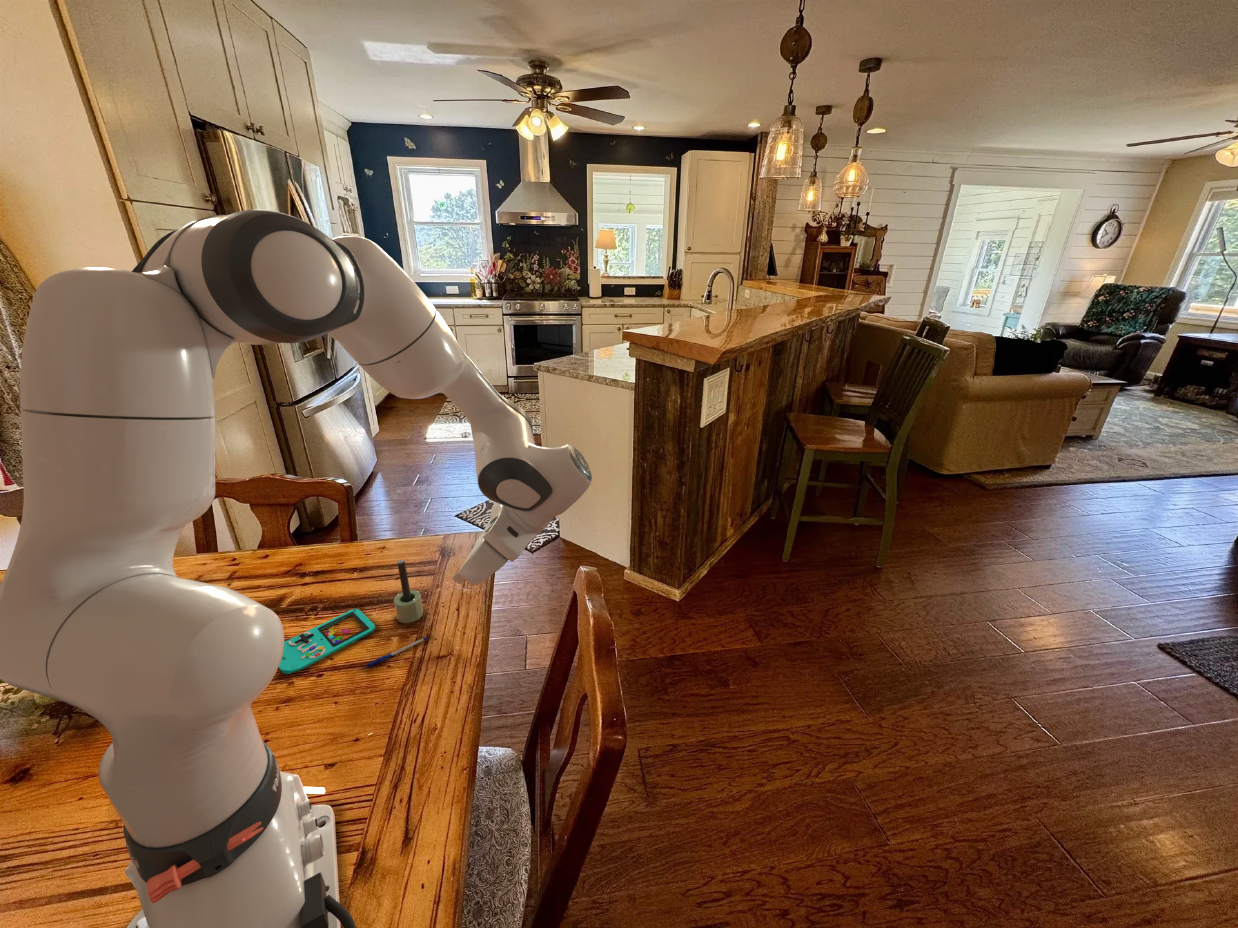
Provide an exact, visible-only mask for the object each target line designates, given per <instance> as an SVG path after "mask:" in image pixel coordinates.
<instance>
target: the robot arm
mask: <svg viewBox="0 0 1238 928" xmlns="http://www.w3.org/2000/svg"><path fill="white" fill-rule="evenodd" d="M325 335H329V336H330V337H331V338H332V339H333V340H335V341H336V342H338V343H339V344H340V345H341V347H342V348H343V349H344V350H345V351H346V353H347V354H349V356H350V357H351V358H352V359H353V360H354V361H355V362H356V363H357V364H358V365H359V366H360V367H361V369H363V370H364V372H366V374H367V375H368V376H369V377H370V378H372V380H374V381H375V382H376V383H377V385H380V386H381V387H382V388H383V389H385V390H386V391H388V392H389V393H390V394H392V395H394V396H395V397H397V398H401V399H407V400H419V399H420V400H421V399H426V398H430V397H431V396H434V395H437V394H439V393H442V394H443V395H444V396H445V397H446V398H447V399H448V400H449V401H450V402H451V403H452V404H453V405H454V406H455V407H456V408H457V410H459V411H460V412H461V413H462V414H463V415H464V416H465V418H466V419H467V420H468V422H469V425H470V430H471V435H472V440H473V449H474V459H475V471H476V472H475V474H476V480H477V486H478V489H479V490H480V492H481V493H482V495H483V496H484V497H485V498H487V499H488V500H489V501H491V502H494V504H493V505H492V506H491V509H490V516H489V520H488V522H487V524H486V526H485V528H484V529H483V531H482V532H481V534H480V535H479V537H478V539H477V540H476V541H474V543H473V544H472V546H471V550H470V552H469V554H468V555H467V557H466V558H465V560H464V562H463V563H462V565H461V566H460V568H459V569H458V570H457V571H456V572H455V573H454V575H453V576H452V580H454V582H456V583H457V584H460V585H461V584H463V583H464V582H465V581H466V583H468V584H469V585H470V586H479V585H481V584H482V583H483V582H484V581H486V580H487V579H488V578H490V577H491V576H492V575H494V574H495V573H497V572H498V571H500V569H502V568H503V567H504V565H506V564H507V563H508V561H509V562H511V563H513V562H515V561H516V560H517V559H518V558H519V557H520V556H521V555H522V553H523V552H524V551H525V549H526V548H527V547H528V545H529V543H531V542H532V541H533V540H534V539H536V538H537V536H538V535H539V534H541V532H542V531H544V530H545V529H546V528H547V527H548V526H549V525H550V523H551V522H552V520H553V519H554V518H555V517H557V516H559V515H562V514H563V513H565V512H566V511H567V510H568V509H569V508H571V507H572V506H573V505H574V504H575V503H576V502H578V500H579V499H580V498H582V496H583V495H584V494H585V493H586V492H587V490H588V488H589V487H590V485H591V484H592V478H593V476H592V471H591V469H590V466H589V463H588V461H587V460H586V459H585V456H584V455H583V454H582V453H581V452H580V451H579V450H578V449H577V447H575V446H574V445H572V444H571V443H570V444H569V443H567V444H564V445H561V446H558V447H545V446H538V445H536V443H535V439H534V430H533V422H532V419H531V416H530V415H529V414H528V412H527V411H526V410H525V409H524V408H523V407H521V406H520V405H518V404H517V403H514V402H513V401H511V400H509V399H507V398H506V397H504V396H503V395H501V394H500V393H499V392H498V391H497V389H496V388H495V387H494V386H493V385H492V384H491V383H490V381H489V380H488V379H487V378H486V376H485V375H484V374H483V373H482V372H481V370H480V369H479V368H478V367H477V366H476V364H475V363H474V362H473V361H472V359H470V357H469V356H468V354H466V353H465V351H464V350H463V348H462V346H461V345H460V343H459V342H458V340H457V337H456V336H455V335H454V333H453V332H452V330H451V328H450V327H449V325H448V324H447V323H446V321H445V320H444V318H443V317H442V315H441V313H440V312H439V311H438V310H437V308H436V307H435V306H434V305H433V303H432V302H431V301H430V299H429V298H428V296H427V295H426V294H425V292H424V291H423V290H422V289H421V288H420V286H418V284H417V283H416V282H415V281H414V280H413V279H412V277H410V276H409V274H408V273H407V272H406V271H405V270H404V269H403V267H401V266H400V265H399V263H397V262H396V261H395V260H394V259H393V258H392V257H391V256H390V255H389V254H388V253H387V252H386V251H385V250H384V249H383V248H381V247H380V246H379V245H378V244H377V243H375V242H374V241H372V240H370V239H368V238H366V237H362V236H359V235H343V236H338V237H337V236H336V237H334V238H331V237H330V236H328V235H327V234H325V233H324V232H322V230H320V229H318V228H317V227H315V226H314V225H312V224H310V223H308V221H304V220H303V219H300V218H299V217H296V216H293V215H289V214H288V213H284V212H280V211H276V210H275V211H274V210H270V209H269V210H268V209H245V210H239V211H236V212H232V213H230V214H219V215H218V214H215V215H210V216H204V217H201V218H199V219H196V220H194V221H191V222H189V223H187V224H186V225H184V226H182V227H180V228H178V229H175V230H173V231H171V232H168V233H166V234H165V235H164V236H162V237H160V238H159V240H157V241H156V242H155V243H154V245H152V246H151V247H150V249H149V250H148V251H147V252H146V253H145V255H144V257H143V258H142V259H141V260H140V261H139V262H138V263H137V265H135V266H134V268H133V269H132V270H131V271H130V270H127V269H120V268H112V267H98V266H97V267H95V266H94V267H79V268H73V269H67V270H63V271H60V272H57V273H54V274H52V275H50V276H49V277H46V278H45V279H44V280H43V281H42V282H40V283H39V285H38V287H36V289H35V292H34V294H33V298H32V302H31V305H30V308H29V313H28V316H27V321H26V326H25V331H24V337H23V342H22V343H23V345H22V351H21V358H20V359H21V360H20V375H19V376H20V377H19V407H20V424H21V425H20V426H21V427H20V428H21V451H22V453H21V454H22V477H23V478H22V482H23V483H22V485H23V503H22V504H23V505H22V513H21V515H22V516H21V521H20V528H19V530H18V535H17V538H16V542H15V545H14V549H13V552H12V555H11V558H10V561H9V562H8V567H7V568H6V571H5V574H4V577H3V579H2V581H1V582H0V680H1V681H2V682H4V683H6V684H7V685H9V686H11V687H14V688H16V689H20V690H23V691H27V692H30V693H34V694H36V695H40V696H43V697H46V698H49V699H52V700H53V699H54V700H55V701H60V702H62V703H66V704H68V705H70V706H73V707H75V708H78V709H80V710H82V711H83V712H85V713H86V714H88V715H89V716H91V717H92V718H94V719H95V720H97V721H98V722H99V723H101V724H102V726H103V727H104V728H105V729H106V730H107V731H108V733H109V734H110V737H111V739H112V740H111V743H110V744H109V746H108V747H107V749H106V750H105V752H104V753H103V755H102V758H101V760H100V763H99V766H98V773H97V774H98V782H99V785H100V786H101V788H102V790H103V791H104V793H105V795H106V797H107V798H108V800H109V802H110V804H111V805H112V807H113V809H114V810H115V812H116V814H117V816H118V817H119V819H120V821H121V822H122V824H123V828H122V829H123V830H122V831H123V837H124V840H125V846H126V847H125V848H126V850H127V853H128V855H129V858H130V860H131V861H130V862H129V863H128V866H127V867H126V868H125V870H124V874H125V875H126V877H127V878H128V880H129V881H130V883H131V884H132V885H133V887H134V888H135V891H136V893H137V897H138V900H139V903H140V905H141V909H140V911H138V913H137V914H136V915H135V916H134V917H133V918H132V920H131V921H130V922H129V923H128V925H127V926H126V928H357V927H356V924H355V921H354V919H353V917H352V915H351V914H350V912H349V911H348V910H347V908H346V907H344V905H343V904H341V903H340V889H339V887H340V886H339V885H340V884H339V873H338V872H339V868H338V852H337V833H336V817H335V815H336V814H335V811H334V810H333V808H332V806H330V805H328V804H315V805H312V803H311V800H310V799H309V798H308V795H307V794H318V795H320V794H322V795H324V794H325V793H326V789H325V787H321V786H320V787H319V786H317V787H316V786H303V785H304V784H303V782H302V780H301V778H300V776H299V774H294V773H290V772H286V771H282V770H280V768H279V762H278V760H277V758H276V755H275V753H274V752H273V750H272V749H271V747H270V746H269V745H268V744H267V742H265V741H263V738H262V735H261V733H260V729H259V727H258V724H257V721H256V718H255V715H254V712H253V708H252V704H253V703H254V702H255V701H256V700H257V699H258V698H259V697H260V696H261V695H262V694H263V693H264V691H265V690H266V689H267V687H268V686H269V685H270V683H271V682H272V680H273V679H274V677H275V675H276V673H277V671H278V669H279V668H278V667H279V665H280V662H281V659H282V655H283V650H284V642H285V630H284V626H283V624H282V621H281V619H280V617H279V616H278V615H277V613H275V612H274V610H272V609H270V608H269V607H266V606H265V605H263V604H262V603H260V602H258V601H257V600H254V599H253V598H251V597H248V596H246V595H245V594H243V593H241V592H239V591H236V590H234V589H232V588H229V587H225V586H221V585H217V584H212V583H209V582H208V583H207V582H202V581H198V580H195V579H194V580H193V579H189V578H185V577H179V576H178V575H177V573H176V571H175V568H174V558H175V557H174V556H175V551H176V547H177V545H178V543H179V542H178V541H179V539H180V537H181V534H182V532H183V530H184V529H185V527H186V526H187V525H188V524H190V523H192V522H193V521H194V522H195V520H198V519H199V518H200V517H202V516H203V515H204V514H205V513H206V512H207V511H208V510H209V509H210V508H211V506H212V504H213V502H214V500H215V497H216V417H215V415H216V409H215V389H214V379H215V378H216V374H217V368H218V365H219V362H220V360H221V358H222V356H223V354H224V353H225V352H226V350H227V349H228V348H230V346H232V345H233V344H234V343H239V344H245V345H254V346H258V345H259V346H262V345H278V344H299V343H304V342H308V341H312V340H315V339H318V338H320V337H323V336H325Z"/></svg>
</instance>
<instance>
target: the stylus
mask: <svg viewBox="0 0 1238 928" xmlns="http://www.w3.org/2000/svg"><path fill="white" fill-rule="evenodd" d="M396 563H397V570H398V574H399V580H400V581H399V582H400V586H401V591H402V592H403V597H404V602H409V601H412V599H411V593H410V590H411V588H410V583H409V577H408V571H407V564H406V560H404V559H399V560H397V562H396Z"/></svg>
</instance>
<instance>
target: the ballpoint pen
mask: <svg viewBox="0 0 1238 928" xmlns="http://www.w3.org/2000/svg"><path fill="white" fill-rule="evenodd" d="M427 639H429V636H426V637H423V638H420V639H418V640H416V641H414V642H411V643H410V644H408V645H406V646H403V647H402V648H399V649H397V650H395V651H393V652H391V653H388V654H387V655H386V654H385V655H382V656H380V657H378V658H375V659H373V660H372V661H370V662H369V663H367V664H366V666H365V667H366V668H370V667H372V666H375V665H377V664H378V663H381V662H383V661H385V660H387V659H389V658H392V657H393V656H394V655H395V656H396V655H397V654H399V653H401V652H403V651H405V650H408V649H409V648H412V647H413V646H417V645H418V644H420V643H422V642H424V641H426V640H427Z"/></svg>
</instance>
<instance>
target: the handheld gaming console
mask: <svg viewBox="0 0 1238 928" xmlns="http://www.w3.org/2000/svg"><path fill="white" fill-rule="evenodd" d="M350 616H352V617H353V618H354V619H355V621H357V623H359V624H360V625H361V626H362V627H363V629H361V630H360V631H357V632H356V633H354V634H352V635H350V636H348V637H346V638H344V639H342V638H343V636H342V635H339V636H337V637H336V636H335V634H336V632H337V631H338V630H337V629H335V628H336V627H334V626H333V625H334V624H337V623H339V622H340V621H342V620H344V619H346V618H349V617H350ZM330 626H332V627H330ZM329 627H330V628H329ZM326 628H329V629H328V631H326V630H324V629H326ZM375 630H376V625H375V623H373V621H372V620H371V619H370V618H369V617H367V615H365V614H364V613H363V611H362V610H360V609H358V608H353V609H350V610H348V611H346V612H344V613H342V614H340V615H338V616H334V618H330V620H327V621H325V622H323V623H321V624H318V625H317V626H315V627H312V628H310V629H309V630H306V631H304V632H301V633H300V634H298V635H295V636H294V637H291V638H290V639H288V640H287V639H286V640H284V650H283V655H282V659H281V662H280V665H279V667H278V669H279V672H281V673H282V674H284V675H285V674H286V675H291V674H292V673H295V672H299V671H301V670H303V669H305V668H307V667H309V666H311V665H313V664H315V663H316V662H319V661H320V660H322V659H324V658H325V657H327V656H330V655H332V654H333V653H335V652H337V651H339V650H341V649H343V648H345V647H347V646H349V645H350V644H352V643H355V642H357V641H358V640H360V639H362V638H364V637H366V636H368V635H370V634H372V633H373V632H374V631H375ZM341 631H342V633H343V634H345V635H346V634H348V633H350V632H351V630H350V629H348V630H346V629H345V628H343V629H341Z"/></svg>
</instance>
